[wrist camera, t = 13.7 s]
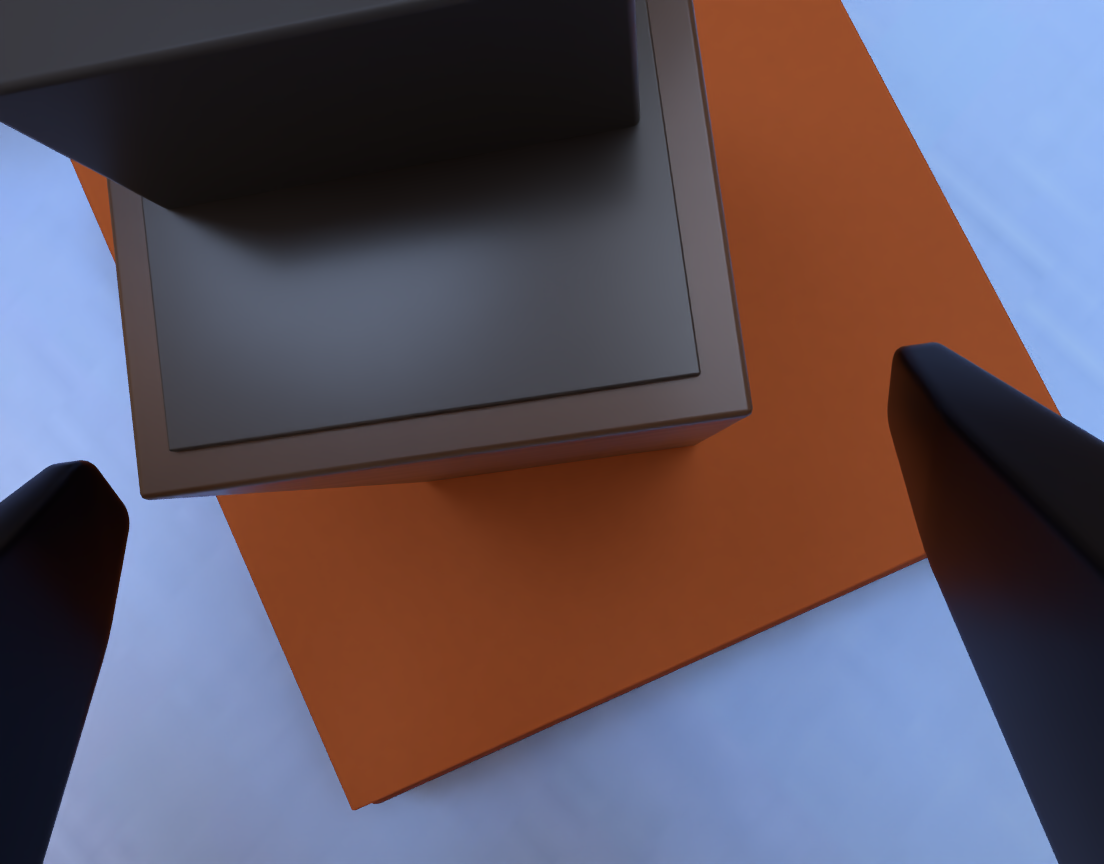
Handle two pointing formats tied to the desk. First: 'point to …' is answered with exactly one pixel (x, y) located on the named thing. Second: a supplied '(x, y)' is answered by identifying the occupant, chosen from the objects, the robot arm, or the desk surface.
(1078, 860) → the robot arm
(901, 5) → the desk surface
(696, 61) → the remote caddy
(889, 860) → the desk surface
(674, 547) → the flat square box
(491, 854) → the desk surface
